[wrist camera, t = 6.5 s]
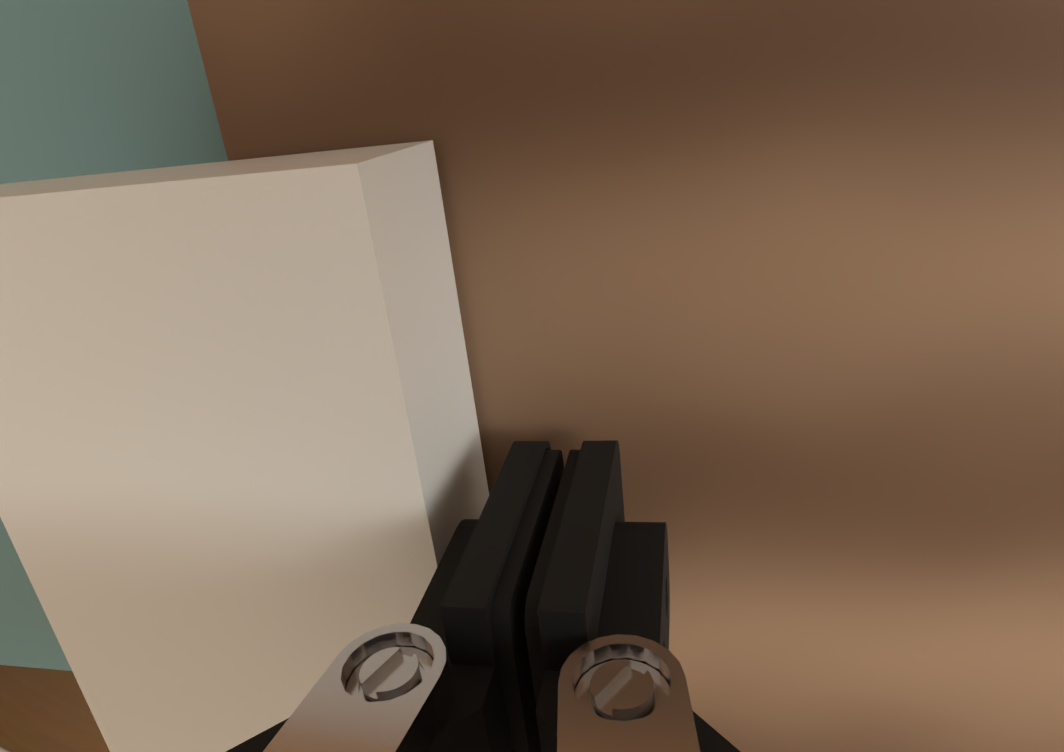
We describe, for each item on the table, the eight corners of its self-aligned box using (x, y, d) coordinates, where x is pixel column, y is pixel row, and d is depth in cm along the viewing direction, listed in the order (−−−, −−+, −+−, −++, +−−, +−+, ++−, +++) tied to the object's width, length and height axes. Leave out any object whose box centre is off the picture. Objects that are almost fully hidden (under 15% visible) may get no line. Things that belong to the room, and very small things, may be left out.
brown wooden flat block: (290, -47, 13) (167, -77, 10) (1362, -217, 10) (1679, -344, 7) (439, 691, 20) (393, 807, 17) (1096, 744, 17) (1190, 904, 14)
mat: (-396, 62, 17) (-419, 62, 17) (265, -43, 13) (254, -46, 13) (-74, 648, 24) (-85, 657, 24) (422, 689, 20) (417, 701, 20)
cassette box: (4, 183, 13) (-144, 211, 10) (433, 140, 10) (357, 163, 8) (203, 699, 17) (128, 791, 15) (528, 742, 15) (495, 857, 13)
